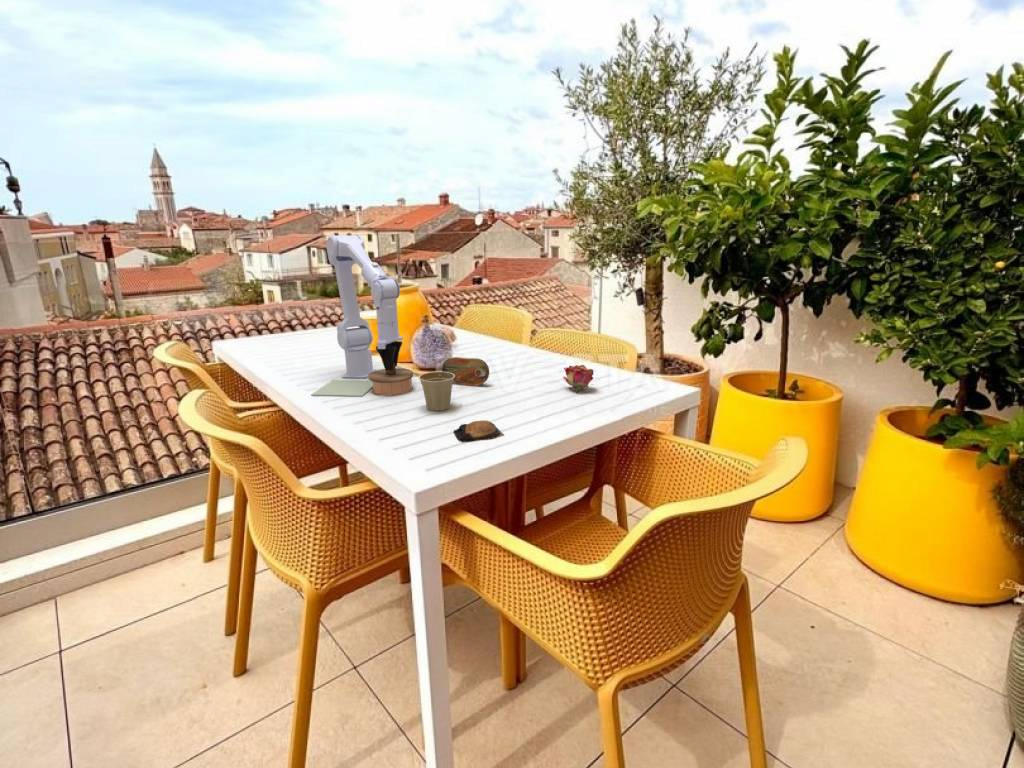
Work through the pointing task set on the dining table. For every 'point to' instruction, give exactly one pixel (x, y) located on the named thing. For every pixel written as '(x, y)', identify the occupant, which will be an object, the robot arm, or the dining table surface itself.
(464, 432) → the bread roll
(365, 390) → the rubber mat
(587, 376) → the flower
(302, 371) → the dining table surface
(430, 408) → the flower pot
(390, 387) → the terracotta bowl
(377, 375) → the walnut lid
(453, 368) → the tin
